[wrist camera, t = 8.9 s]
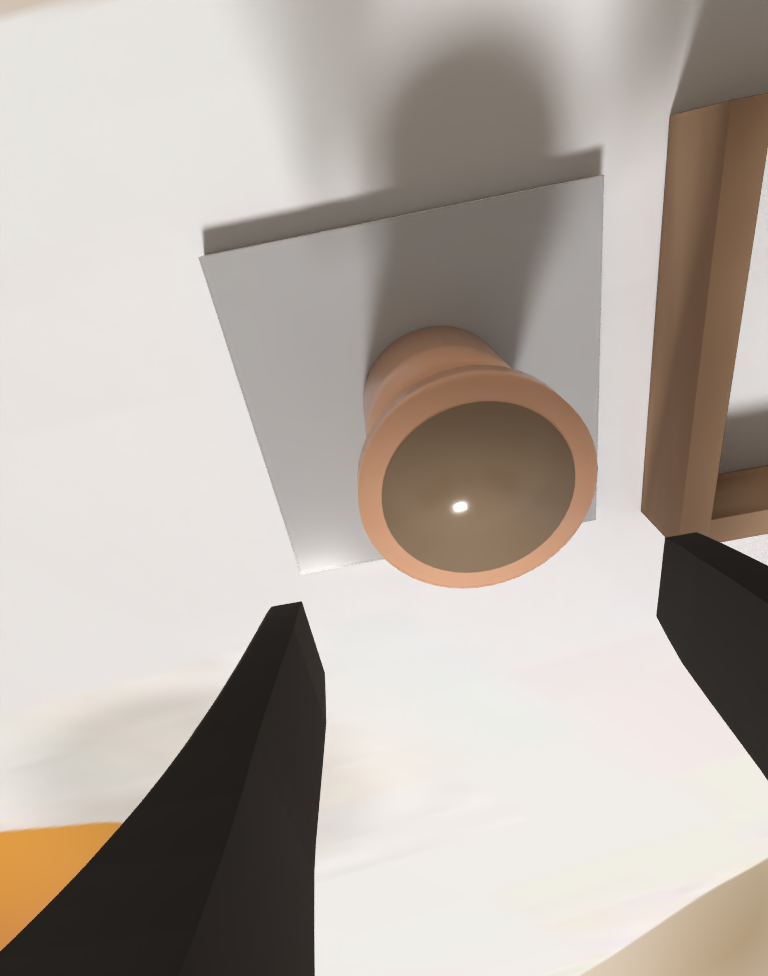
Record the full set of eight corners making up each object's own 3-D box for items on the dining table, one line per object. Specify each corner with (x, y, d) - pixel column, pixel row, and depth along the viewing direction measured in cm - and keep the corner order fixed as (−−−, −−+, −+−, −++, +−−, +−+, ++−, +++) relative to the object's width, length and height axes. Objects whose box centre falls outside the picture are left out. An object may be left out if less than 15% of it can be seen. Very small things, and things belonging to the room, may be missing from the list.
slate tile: (594, 176, 14) (604, 175, 14) (588, 511, 20) (595, 519, 19) (203, 255, 15) (198, 257, 14) (302, 564, 20) (301, 574, 20)
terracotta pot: (545, 345, 16) (644, 418, 11) (479, 489, 18) (534, 607, 13) (382, 291, 15) (404, 343, 10) (333, 451, 17) (330, 563, 12)
